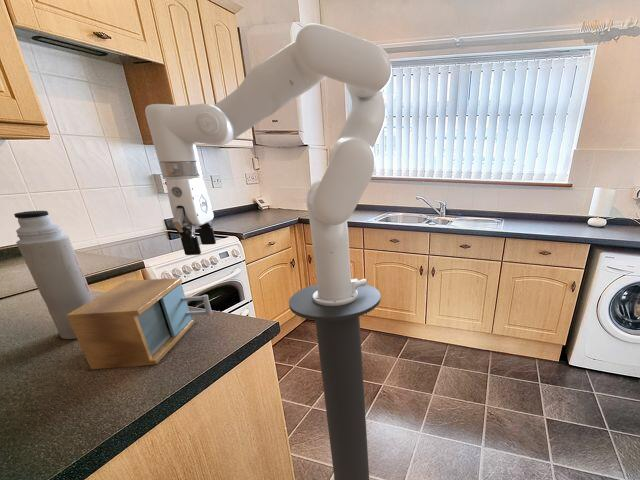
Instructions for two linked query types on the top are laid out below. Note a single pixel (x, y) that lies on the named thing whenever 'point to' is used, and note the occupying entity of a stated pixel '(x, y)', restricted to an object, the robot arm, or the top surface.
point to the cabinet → (126, 325)
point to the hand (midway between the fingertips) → (201, 249)
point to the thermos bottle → (53, 267)
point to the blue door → (181, 309)
